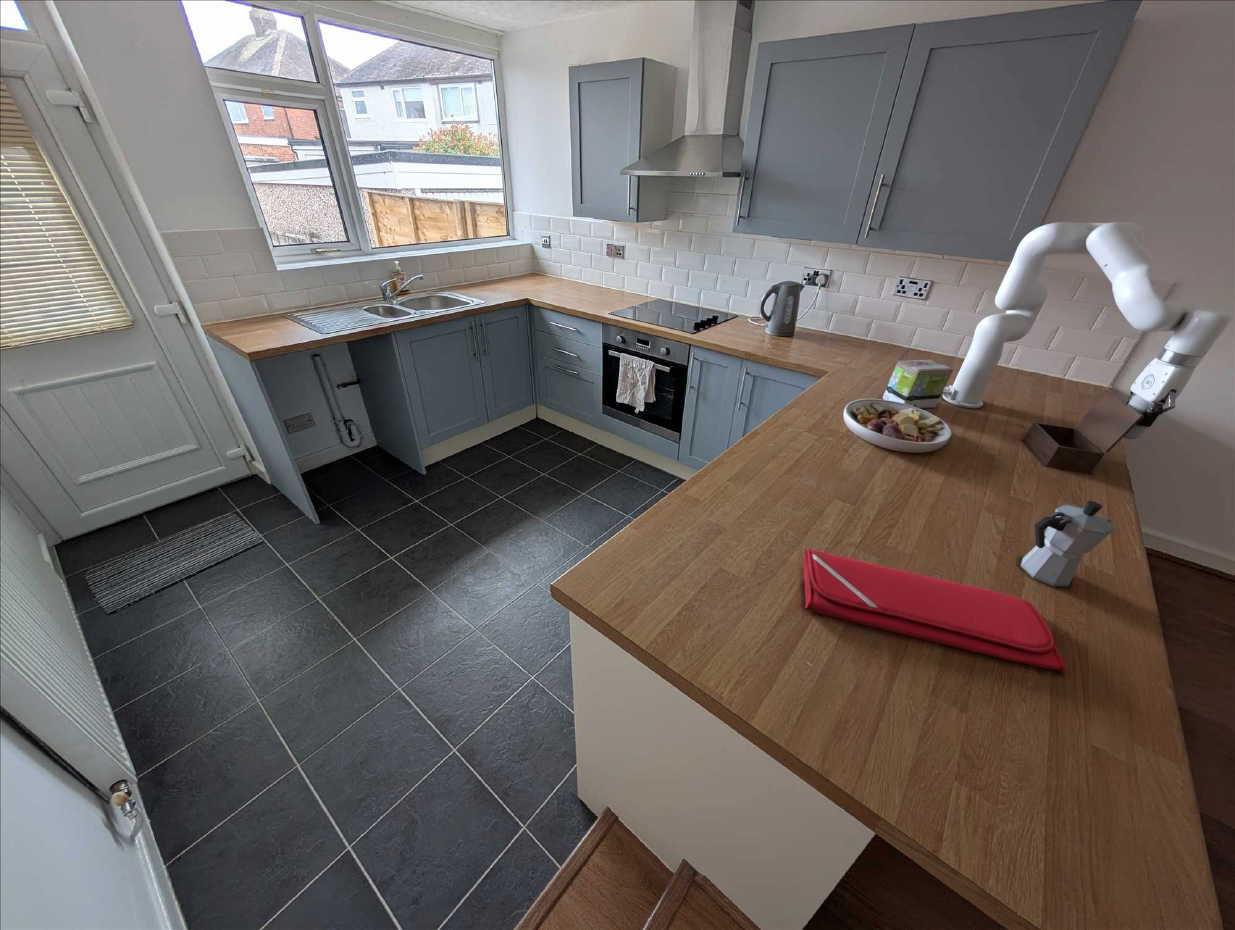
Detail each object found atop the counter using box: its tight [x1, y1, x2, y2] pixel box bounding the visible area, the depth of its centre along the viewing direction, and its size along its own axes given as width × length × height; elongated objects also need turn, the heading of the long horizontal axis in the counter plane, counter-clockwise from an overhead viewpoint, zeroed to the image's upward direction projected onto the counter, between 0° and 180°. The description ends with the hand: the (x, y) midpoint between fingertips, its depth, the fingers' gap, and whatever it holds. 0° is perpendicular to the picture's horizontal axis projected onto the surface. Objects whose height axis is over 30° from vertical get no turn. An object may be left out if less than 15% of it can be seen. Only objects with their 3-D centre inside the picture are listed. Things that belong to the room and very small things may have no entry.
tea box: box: [882, 359, 954, 409], centre depth 166 cm, size 15×10×15 cm, turn 105°
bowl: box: [843, 398, 952, 454], centre depth 148 cm, size 30×30×8 cm
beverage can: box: [1122, 395, 1162, 440], centre depth 131 cm, size 6×6×12 cm
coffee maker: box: [1020, 500, 1115, 588], centre depth 95 cm, size 15×9×18 cm, turn 92°
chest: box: [1022, 421, 1106, 475], centre depth 141 cm, size 11×16×7 cm
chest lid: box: [1074, 391, 1144, 454], centre depth 134 cm, size 12×16×1 cm
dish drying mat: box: [803, 547, 1067, 672], centre depth 88 cm, size 16×41×4 cm, turn 74°
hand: (1134, 419), depth 132 cm, fingers closed on beverage can, 6 cm apart
